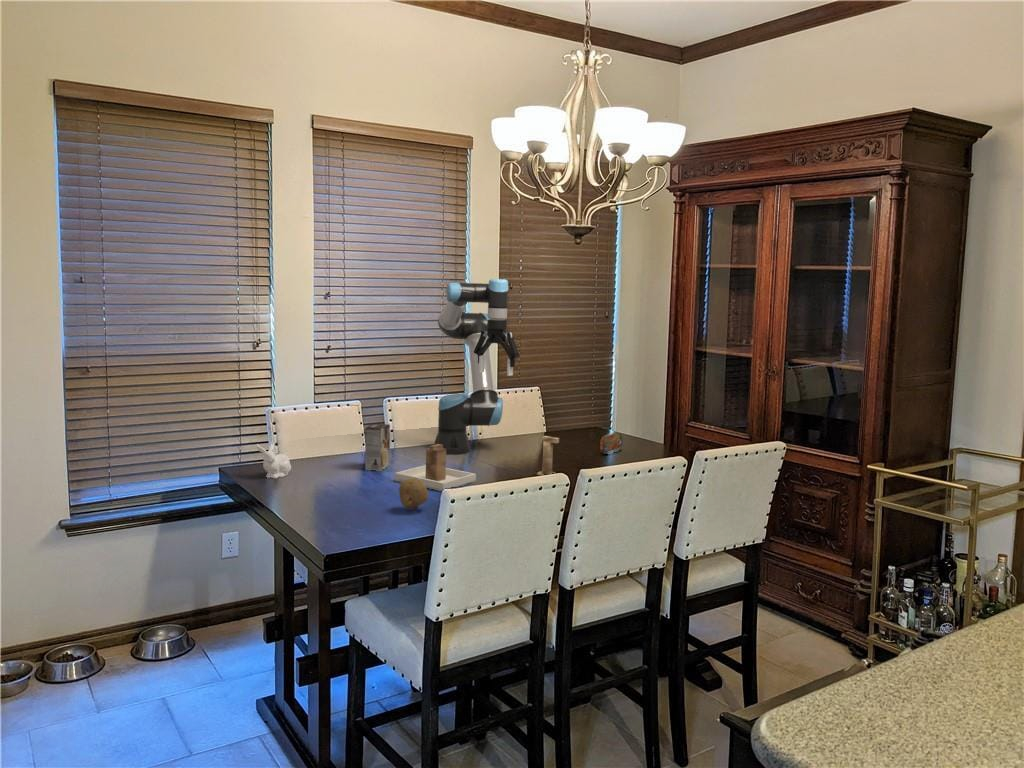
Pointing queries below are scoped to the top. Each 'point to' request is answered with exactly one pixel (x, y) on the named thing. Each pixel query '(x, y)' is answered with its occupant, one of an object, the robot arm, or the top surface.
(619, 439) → the tin
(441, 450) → the brown upright block
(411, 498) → the natural sponge
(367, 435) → the coffee box
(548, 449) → the oak post
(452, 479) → the tray
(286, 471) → the rabbit
